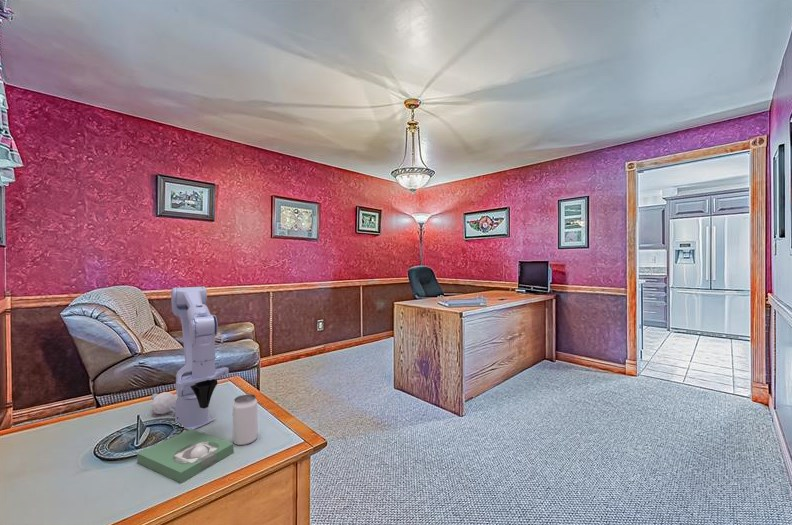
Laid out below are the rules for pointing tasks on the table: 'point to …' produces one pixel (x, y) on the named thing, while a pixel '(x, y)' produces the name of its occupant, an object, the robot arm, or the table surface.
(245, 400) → the can
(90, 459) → the table surface
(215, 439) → the putting mat
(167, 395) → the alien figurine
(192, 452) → the ball
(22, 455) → the table surface
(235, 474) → the table surface
